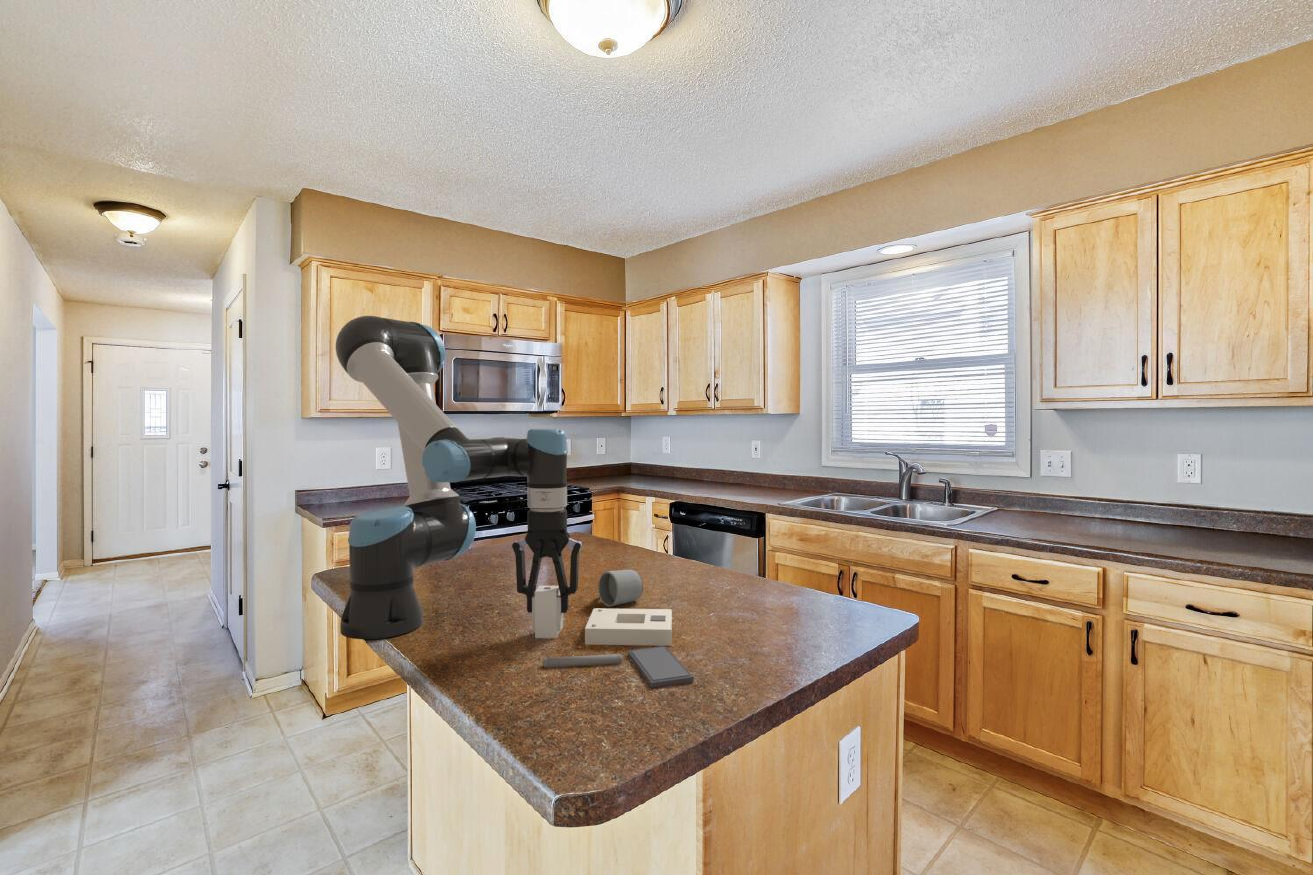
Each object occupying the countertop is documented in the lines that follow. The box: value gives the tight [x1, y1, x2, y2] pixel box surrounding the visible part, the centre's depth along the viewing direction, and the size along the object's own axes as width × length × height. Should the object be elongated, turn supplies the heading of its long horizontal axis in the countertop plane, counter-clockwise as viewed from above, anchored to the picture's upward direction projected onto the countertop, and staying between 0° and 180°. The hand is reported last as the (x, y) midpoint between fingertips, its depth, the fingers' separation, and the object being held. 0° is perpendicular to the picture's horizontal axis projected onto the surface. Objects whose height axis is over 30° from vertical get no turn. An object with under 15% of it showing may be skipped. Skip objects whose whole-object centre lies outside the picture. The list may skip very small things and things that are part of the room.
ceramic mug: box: [597, 569, 644, 608], centre depth 140 cm, size 11×8×8 cm
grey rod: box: [542, 653, 624, 669], centre depth 104 cm, size 14×2×2 cm, turn 98°
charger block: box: [534, 585, 561, 639], centre depth 118 cm, size 4×4×9 cm
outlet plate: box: [584, 607, 673, 647], centre depth 119 cm, size 16×12×3 cm
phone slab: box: [627, 646, 695, 689], centre depth 103 cm, size 7×14×1 cm, turn 18°
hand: (547, 628), depth 118 cm, fingers closed on charger block, 4 cm apart
